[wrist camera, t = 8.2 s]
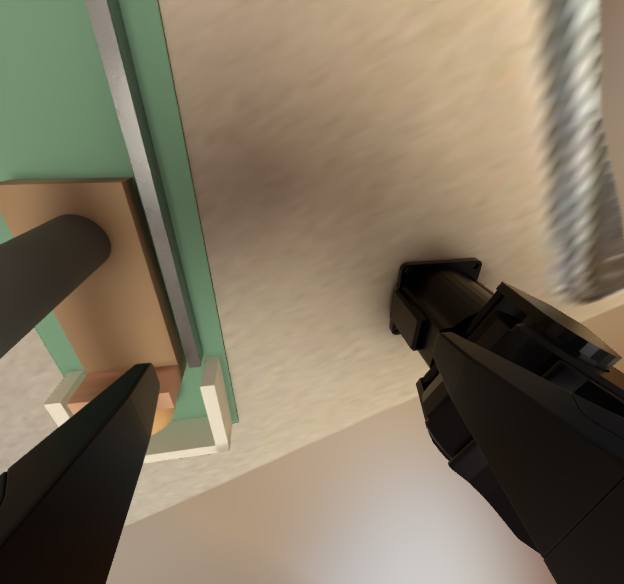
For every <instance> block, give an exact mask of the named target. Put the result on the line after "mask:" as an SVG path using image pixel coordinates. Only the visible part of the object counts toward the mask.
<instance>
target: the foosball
mask: <svg viewBox="0 0 624 584" xmlns="http://www.w3.org/2000/svg"><path fill="white" fill-rule="evenodd" d="M175 410H176V403H175V407H174V408H168V409H160V410H156V413H155V418H154V423H153V428H152V433H151V435H153V434H156V433H158V432H159V431H161V430H162V429H164V428H165V427H166V426H167V425H168V424H169V422H170V421H171V419H172V418H173V416H174V413H175Z"/></svg>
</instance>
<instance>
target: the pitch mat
mask: <svg viewBox="0 0 624 584" xmlns="http://www.w3.org/2000/svg"><path fill="white" fill-rule="evenodd" d="M118 1H119V5H120V9H121V13H122V17H123V21H124V25H125V30H126V34H127V38H128V42H129V46H130V50H131V54H132V58H133V63H134V67H135V71H136V75H137V79H138V83H139V87H140V92H141V96H142V100H143V104H144V108H145V112H146V116H147V121H148V125H149V129H150V133H151V137H152V141H153V145H154V150H155V154H156V158H157V162H158V166H159V170H160V174H161V178H162V183H163V187H164V191H165V195H166V199H167V203H168V207H169V212H170V216H171V220H172V224H173V228H174V232H175V236H176V241H177V245H178V249H179V253H180V257H181V261H182V265H183V270H184V274H185V278H186V282H187V286H188V290H189V294H190V298H191V303H192V307H193V311H194V315H195V319H196V323H197V327H198V332H199V336H200V340H201V344H202V348H203V352H204V354H203V358H202V362H201V367H193V368H189V365H188V362H187V358H186V354H185V351H184V347H183V344H182V340H181V337H180V333H179V330H178V326H177V323H176V319H175V316H174V312H173V309H172V305H171V302H170V298H169V295H168V291H167V288H166V284H165V281H164V277H163V273H162V270H161V266H160V263H159V259H158V256H157V252H156V249H155V245H154V242H153V238H152V235H151V231H150V228H149V224H148V221H147V217H146V214H145V210H144V207H143V203H142V200H141V196H140V193H139V189H138V185H137V182H136V178H135V175H134V171H133V168H132V164H131V161H130V157H129V154H128V150H127V147H126V143H125V140H124V136H123V133H122V129H121V126H120V122H119V119H118V115H117V112H116V108H115V105H114V101H113V97H112V94H111V90H110V87H109V83H108V80H107V76H106V73H105V69H104V66H103V62H102V59H101V55H100V52H99V48H98V45H97V41H96V38H95V34H94V31H93V27H92V24H91V20H90V17H89V13H88V9H87V6H86V2H85V0H0V182H2V181H6V180H27V179H75V178H124V177H132V178H133V182H134V185H135V188H136V192H137V195H138V199H139V202H140V206H141V209H142V213H143V216H144V220H145V223H146V227H147V230H148V234H149V237H150V240H151V244H152V247H153V251H154V254H155V258H156V261H157V265H158V268H159V272H160V275H161V279H162V282H163V285H164V289H165V292H166V296H167V299H168V303H169V306H170V310H171V313H172V317H173V320H174V324H175V327H176V330H177V334H178V337H179V341H180V344H181V348H182V351H183V355H184V358H185V362H186V365H187V366H186V369H185V373H184V376H183V379H182V383H181V386H180V390H179V393H178V396H177V400H176V410H175V413H174V416H173V418H172V419H171V421H174V420H182V419H190V418H197V417H205V416H208V415H207V412H206V408H205V404H204V401H203V397H202V393H201V390H200V383H201V379H202V374H203V370H204V365H205V361H206V358H208V357H218V356H219V359H220V363H221V368H222V373H223V378H224V383H225V387H226V392H227V397H228V402H229V407H230V411H231V416H232V424H233V423H238V416H237V411H236V405H235V400H234V395H233V390H232V384H231V379H230V374H229V369H228V364H227V358H226V353H225V348H224V343H223V338H222V332H221V327H220V322H219V317H218V312H217V306H216V301H215V296H214V291H213V285H212V280H211V275H210V270H209V265H208V259H207V254H206V249H205V244H204V239H203V233H202V228H201V223H200V218H199V213H198V207H197V202H196V197H195V192H194V187H193V181H192V176H191V171H190V166H189V160H188V155H187V150H186V145H185V140H184V134H183V129H182V124H181V119H180V114H179V108H178V103H177V98H176V93H175V88H174V82H173V77H172V72H171V67H170V62H169V56H168V51H167V46H166V41H165V35H164V30H163V25H162V20H161V15H160V9H159V4H158V0H118ZM12 238H14V237H13V235H12V234H11V232H10V230H9V228H8V226H7V224H6V222H5V220H4V219H3V217H2V215H1V213H0V244H2V243H4V242H6V241H8V240H10V239H12ZM34 328H35V329H36V331H37V333H38V334H39V336H40V338H41V339H42V341H43V343H44V345H45V346H46V348H47V350H48V351H49V353H50V355H51V356H52V358H53V360H54V361H55V363H56V365H57V366H58V368H59V370H60V371H61V373H62V375H63V377H65V376H66V374H67V373H68V372H71V371H81V370H83V371H84V373H85V375H87V374H86V372H85V370H84V368H83V366H82V365H81V363H80V361H79V359H78V357H77V355H76V353H75V351H74V350H73V348H72V346H71V344H70V342H69V340H68V338H67V336H66V335H65V333H64V331H63V329H62V327H61V325H60V323H59V322H58V320H57V318H56V316H55V314H54V312H53V310H52V311H51V312H50V313H49V314H48V315H47V316H46V317H45V318H44V319H43V320H42V321H40V322H39V323H38V324H37V325H36V326H35V327H34Z"/></svg>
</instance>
